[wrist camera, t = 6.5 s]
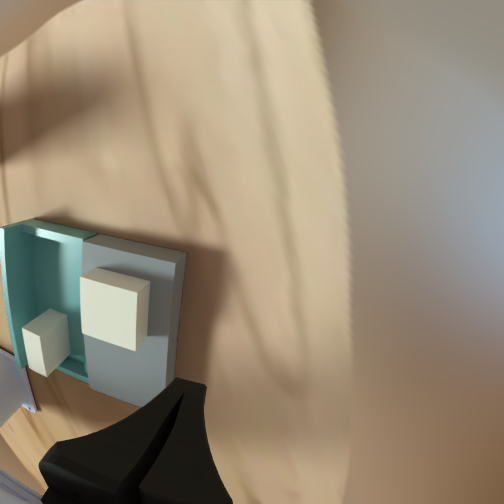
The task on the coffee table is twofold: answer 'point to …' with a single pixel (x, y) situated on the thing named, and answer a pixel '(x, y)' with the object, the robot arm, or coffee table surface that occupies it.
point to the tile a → (47, 341)
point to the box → (44, 283)
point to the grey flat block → (159, 320)
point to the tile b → (114, 307)
